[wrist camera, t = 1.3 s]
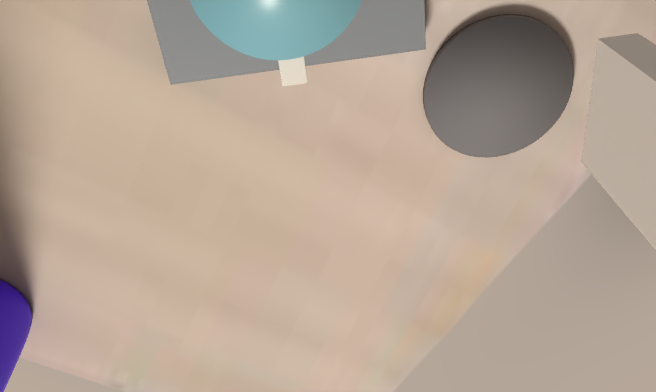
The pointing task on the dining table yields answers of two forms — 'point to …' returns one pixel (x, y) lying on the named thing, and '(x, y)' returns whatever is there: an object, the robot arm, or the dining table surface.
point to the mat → (498, 85)
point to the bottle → (12, 329)
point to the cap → (277, 28)
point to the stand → (223, 61)
